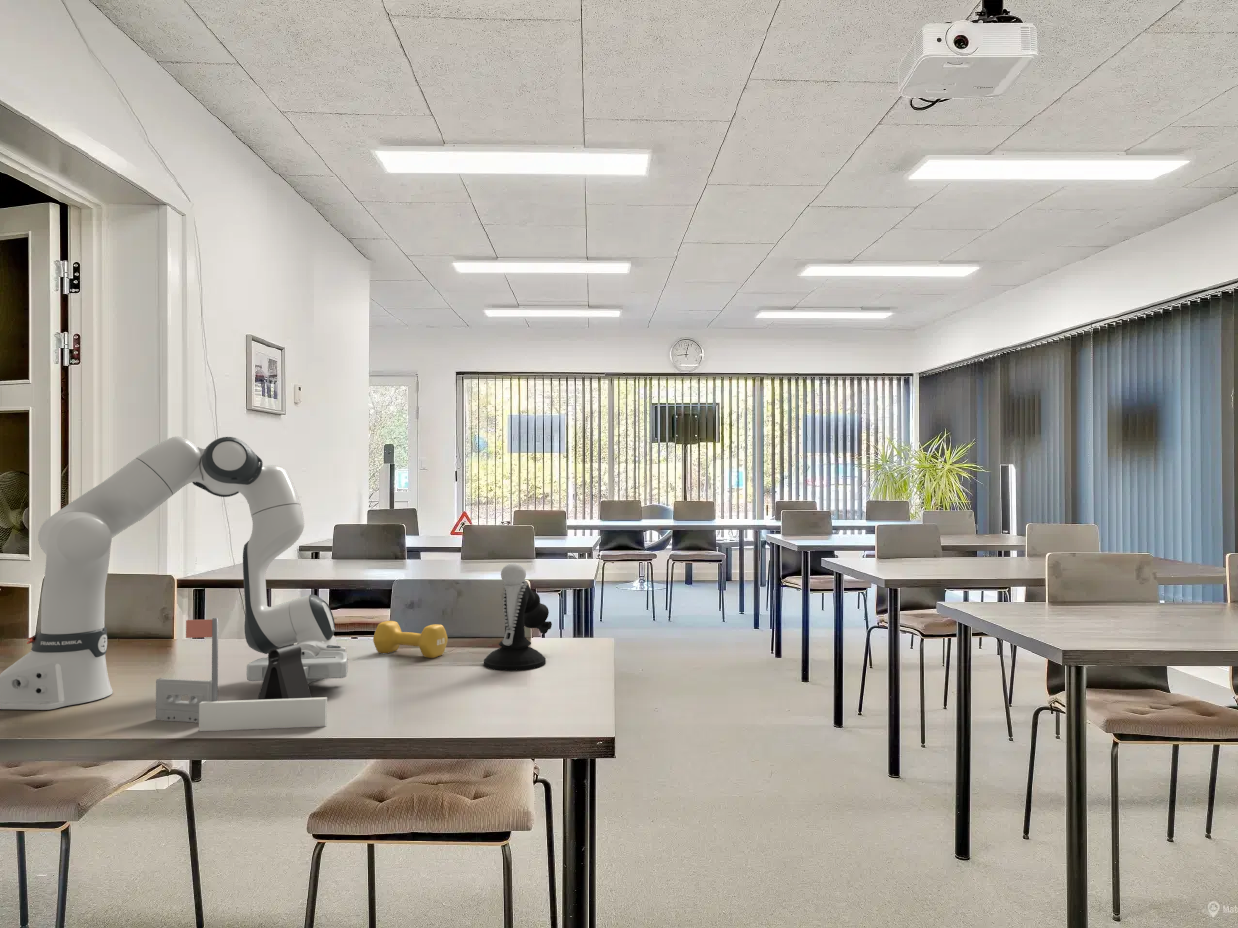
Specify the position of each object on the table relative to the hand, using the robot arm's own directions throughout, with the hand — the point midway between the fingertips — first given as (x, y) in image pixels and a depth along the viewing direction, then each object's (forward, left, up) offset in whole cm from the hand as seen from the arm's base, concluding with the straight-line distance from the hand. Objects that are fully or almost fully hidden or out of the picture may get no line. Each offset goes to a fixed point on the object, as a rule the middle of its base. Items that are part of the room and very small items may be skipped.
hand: (289, 676), depth 165 cm
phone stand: (0, -3, -5) cm, 6 cm away
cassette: (-16, -10, -5) cm, 20 cm away
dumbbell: (+19, +45, -6) cm, 49 cm away
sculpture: (+48, +33, -5) cm, 59 cm away
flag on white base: (-2, -11, -5) cm, 12 cm away
